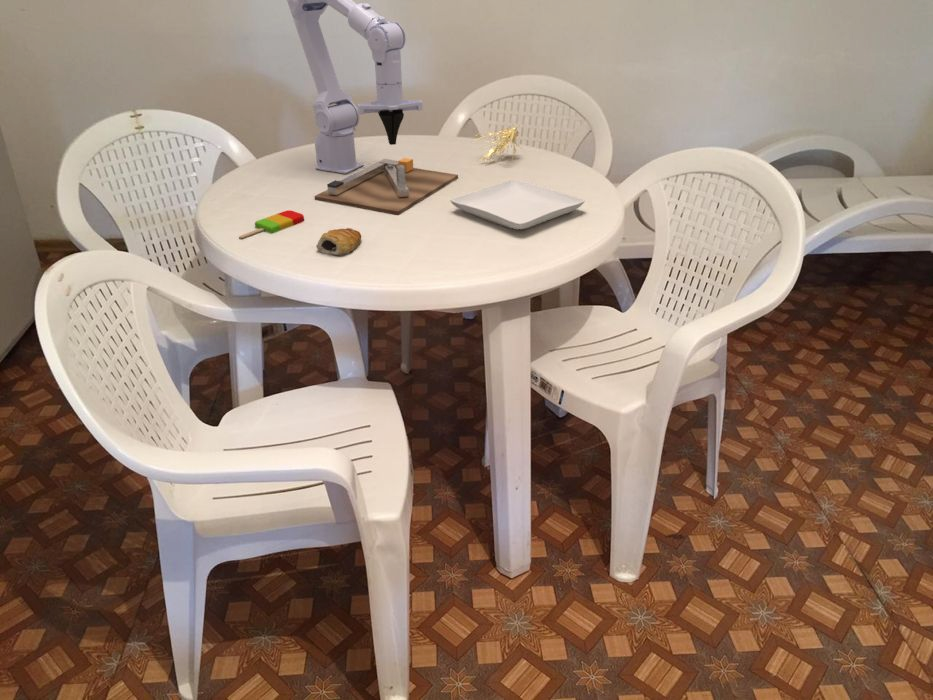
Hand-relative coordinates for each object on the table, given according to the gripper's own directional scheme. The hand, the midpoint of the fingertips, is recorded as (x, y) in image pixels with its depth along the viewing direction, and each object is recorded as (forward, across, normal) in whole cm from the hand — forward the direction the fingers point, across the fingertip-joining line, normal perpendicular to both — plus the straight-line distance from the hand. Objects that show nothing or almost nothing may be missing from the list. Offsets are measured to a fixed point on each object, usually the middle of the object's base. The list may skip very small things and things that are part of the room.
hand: (392, 143), depth 168 cm
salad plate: (+10, +22, -26) cm, 36 cm away
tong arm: (+8, 0, -4) cm, 9 cm away
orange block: (+8, +4, +6) cm, 11 cm away
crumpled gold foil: (+10, +30, +11) cm, 33 cm away
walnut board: (+9, -2, -4) cm, 10 cm away
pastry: (+10, -17, -35) cm, 41 cm away
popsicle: (+10, -30, -21) cm, 38 cm away
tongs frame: (+8, -6, 0) cm, 10 cm away
